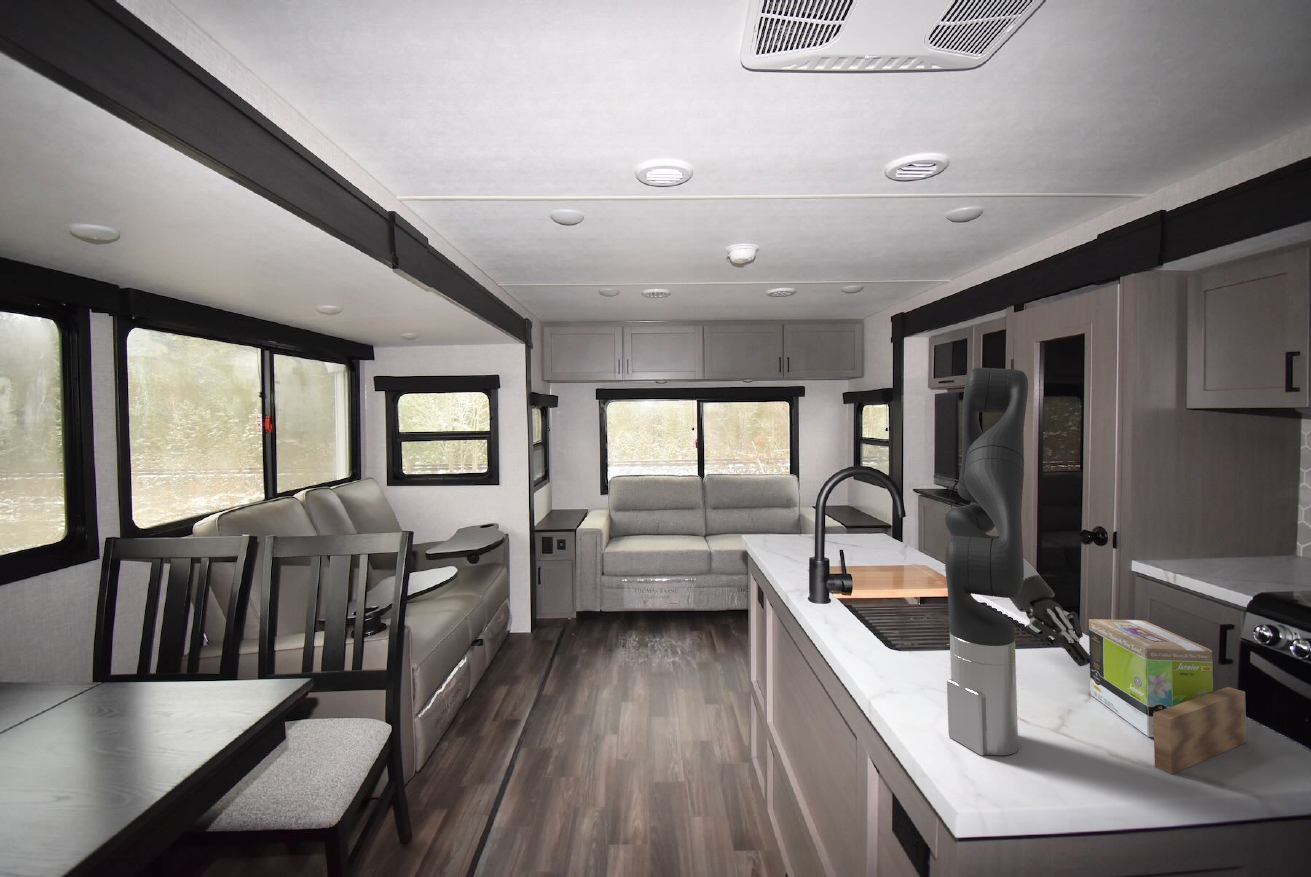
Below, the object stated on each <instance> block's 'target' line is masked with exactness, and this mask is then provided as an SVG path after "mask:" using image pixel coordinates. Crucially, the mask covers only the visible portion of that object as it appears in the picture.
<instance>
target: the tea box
mask: <svg viewBox="0 0 1311 877" xmlns="http://www.w3.org/2000/svg"><path fill="white" fill-rule="evenodd" d="M1088 642H1089V650H1088V651H1089V653H1088V654H1089V655H1090V663H1089V685H1090V686H1089V688H1090V696H1092V697H1094V698H1095V699H1096V700H1097V701H1099V703H1101V704H1103V705H1104V706H1105V707H1107V708H1109V709H1110V710H1111V711H1112V712H1114V713H1115V714H1117V715H1118V716H1120V718H1122V719H1123V720H1125V721H1126V722H1127V723H1129V724H1130V725H1132V726H1133V727H1134V728H1136V729H1137V730H1139V731H1140V732H1141V733H1142V734H1144V735H1145V736H1146V737H1149V738H1154V725H1153V713H1155V712H1158V711H1161V710H1163V709H1166V708H1169V707H1172V706H1175V705H1178V704H1180V703H1183V702H1186V701H1189V700H1192V699H1195V698H1197V697H1200V696H1203V695H1206V694H1209V693H1211V692H1214V678H1213V677H1214V676H1213V675H1214V674H1213V669H1214V668H1213V666H1214V665H1213V663H1214V662H1213V650H1212V649H1210V648H1208V647H1206V646H1204V645H1201V644H1199V643H1197V642H1195V641H1192V640H1190V639H1187V638H1185V637H1183V636H1181V635H1178V634H1176V633H1174V632H1172V631H1169V630H1167V629H1164V628H1162V627H1160V626H1158V625H1155V624H1153V623H1151V622H1148V620H1140V619H1105V618H1103V619H1100V618H1099V619H1098V618H1097V619H1096V618H1094V619H1093V618H1091V619H1088Z"/></svg>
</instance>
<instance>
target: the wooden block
mask: <svg viewBox="0 0 1311 877" xmlns="http://www.w3.org/2000/svg"><path fill="white" fill-rule="evenodd" d="M1246 707H1247V706H1246V691H1244V690H1240V689H1237V688H1233V687H1230V686H1226V687H1223V688H1220V689H1217V690H1213V692H1211V693H1209V694H1206V695H1203V696H1200V697H1197V698H1195V699H1192V700H1189V701H1186V702H1183V703H1180V704H1178V705H1175V706H1172V707H1169V708H1166V709H1163V710H1161V711H1158V712H1155V713H1153V725H1154V737H1153V744H1154V745H1153V749H1154V750H1153V751H1154V752H1153V753H1154V755H1153V757H1154V767H1155V768H1157V769H1159V770H1160V771H1163V772H1165V773H1168V774H1170V775H1173V774H1175V773H1177V772H1180V771H1183V770H1185V769H1187V768H1189V767H1192V766H1194V765H1196V764H1199V763H1201V762H1203V761H1206V760H1208V759H1211V758H1213V757H1215V756H1217V755H1220V754H1222V753H1225V752H1227V751H1229V750H1232V749H1234V748H1236V747H1239V746H1241V745H1243V744H1246V743H1247V742H1248V741H1247V713H1246V710H1247V709H1246Z"/></svg>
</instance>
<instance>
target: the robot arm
mask: <svg viewBox="0 0 1311 877" xmlns="http://www.w3.org/2000/svg"><path fill="white" fill-rule="evenodd" d="M963 390H964V391H963V400H962V421H961V422H962V424H961V426H962V427H961V437H962V438H961V439H962V440H961V442H962V446H961V448H962V449H961V450H962V451H961V465H960V470H959V478H958V483H957V484H958V486H957V493H958V495H959V496H960V498H962V499H963V500H965V501H968V502H970V504H966V505H962V506H959V507H955V508H951V509H949V510H948V511H947V512H946V514H945V517H944V522H945V526H946V529H947V530H948V532H949V533H950V535H952V537H950V538H949V539H948V541H947V543H946V546H945V550H944V568H945V578H946V588H947V590H946V591H947V599H948V600H947V603H948V621H949V622H948V624H949V650H950V653H949V654H950V679H947V681H946V696H947V698H946V699H947V728H948V737H949V738H951V739H952V740H954V741H955V742H957V743H959V744H961V745H963V746H965V747H966V748H968V749H969V750H971V751H973V752H974V753H977V754H978V755H979V756H985V755H986V756H987V755H992V756H1008V755H1011V754H1012V755H1013V754H1015V753H1016V752H1018V749H1019V728H1018V727H1019V725H1018V698H1017V697H1018V695H1017V692H1018V691H1017V665H1016V663H1017V662H1016V657H1017V655H1016V634H1015V633H1016V630H1015V626H1014V623H1013V622H1012V620H1011V619H1009V618H1008V617H1006V616H1005V615H1003V614H1001V613H999V612H997V611H994V610H992V609H990V608H988V607H986V606H985V605H983V604H982V603H980V602H979V601H977V599H975V598H974V597H973V595H980V596H985V597H986V596H988V597H994V598H995V597H996V598H1004V599H1009V600H1010V601H1011V603H1012V604H1013V605H1014V606H1015V607H1016V609H1017V610H1018V612H1021V613H1025V614H1026V617H1027V618H1028V619H1029V623H1028V624H1027V625H1025V629H1026V630H1027V631H1028V632H1030V633H1031V634H1033V635H1035V636H1036V637H1038V638H1039V639H1041V640H1042V641H1044V642H1045V643H1047V644H1049V645H1050V646H1051V647H1053V648H1055V647H1060V648H1061V649H1064V650H1065V652H1066V653H1067V654H1068V655H1069V656H1070V658H1071V659H1072V660H1073V661H1074V663H1075V664H1077V666H1078V667H1085V666H1088V665H1090V653H1088V652H1087V650H1086V649H1085V648H1084V646H1083V645H1081V643H1080V639H1082V638H1083V637H1084V635H1083V631H1082V627H1081V622H1080V619H1079V616H1078V613H1076V611H1073V610H1072V611H1070V612H1068V611H1065V610H1064V609H1063V607H1062V606H1061V605H1060V604H1059V603H1057V602H1056V601H1055V599H1054V597H1055V592H1054V591H1053V589H1052V588H1051V586H1049V585H1048V583H1047V582H1046V581H1045V579H1044V578H1042V576H1041V575H1040V574H1039V572H1037V570H1036V569H1035V568H1034V567H1033V566H1032V565H1031V564H1030V563H1029V562H1028V560H1026V559H1025V558H1024V544H1023V524H1022V523H1023V522H1022V508H1023V506H1022V505H1023V494H1024V493H1023V491H1024V477H1025V447H1024V446H1025V443H1024V442H1025V438H1024V436H1025V435H1024V434H1025V432H1024V431H1025V420H1026V411H1027V403H1028V394H1029V381H1028V375H1027V374H1026V373H1025V372H1024V371H1023V370H1021V369H1014V368H1013V369H1012V368H994V367H973V368H971V369H970V371H969V372H968V374H967V376H966V379H965V383H964V388H963ZM980 413H990V414H999V415H1000V414H1001V415H1002V416H1001V418H1000V419H999V420H998V421H997V422H996V423H995V424H994V425H993V426H992V427H990V428H989V429H987V430H986V431H984V433H983V431H982V428H981V425H980V417H979V416H980ZM994 528H995V529H996V531H997V533H998V535H990V534H987V533H989V532H992V531H993V530H994Z"/></svg>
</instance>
